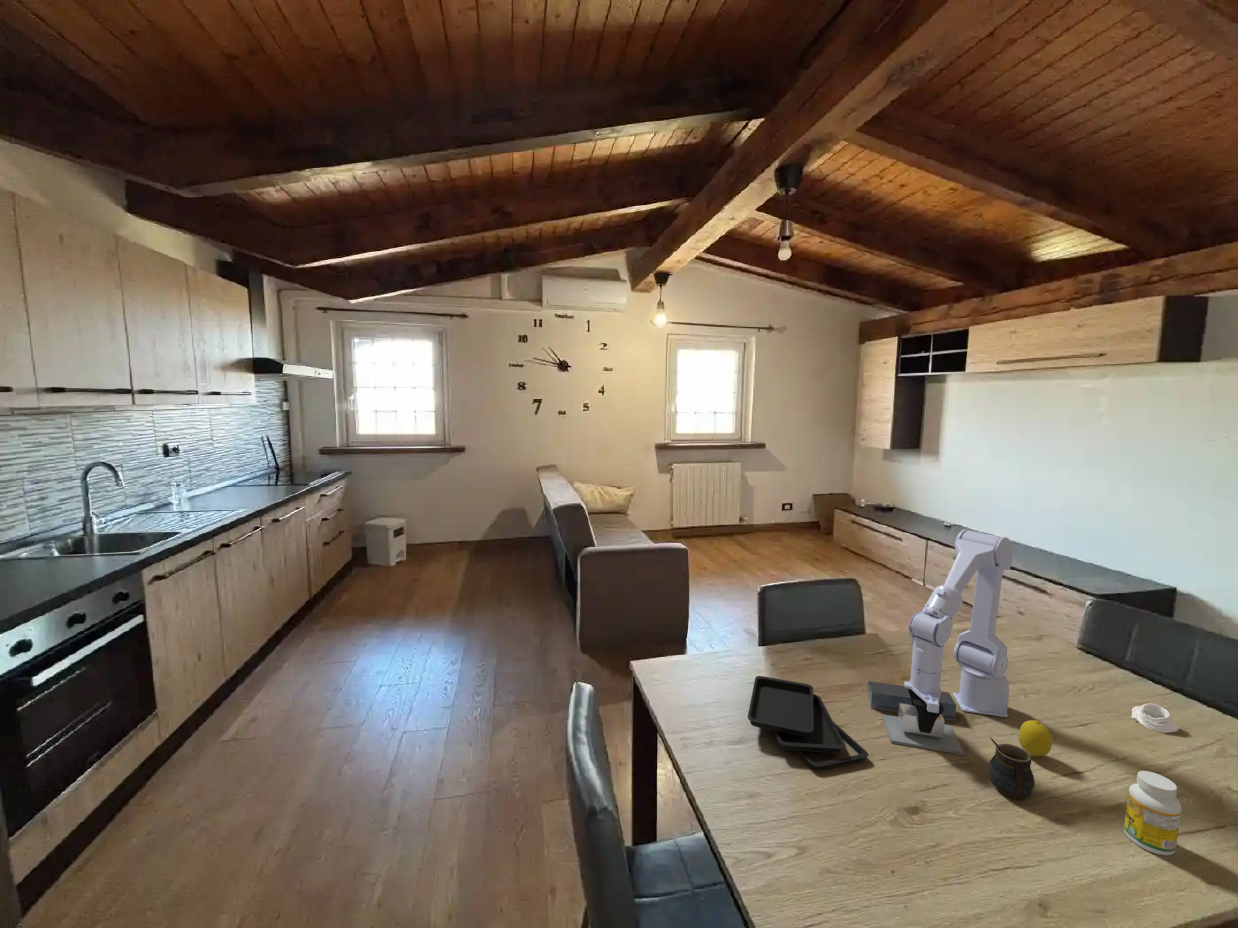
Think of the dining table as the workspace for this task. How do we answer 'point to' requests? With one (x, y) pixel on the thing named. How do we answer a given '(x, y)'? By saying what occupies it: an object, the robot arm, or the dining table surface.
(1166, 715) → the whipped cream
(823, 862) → the dining table surface
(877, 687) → the body
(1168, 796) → the supplement bottle
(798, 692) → the stack of dark trays
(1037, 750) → the lemon
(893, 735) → the mat
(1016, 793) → the mate gourd
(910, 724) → the pale grey block
